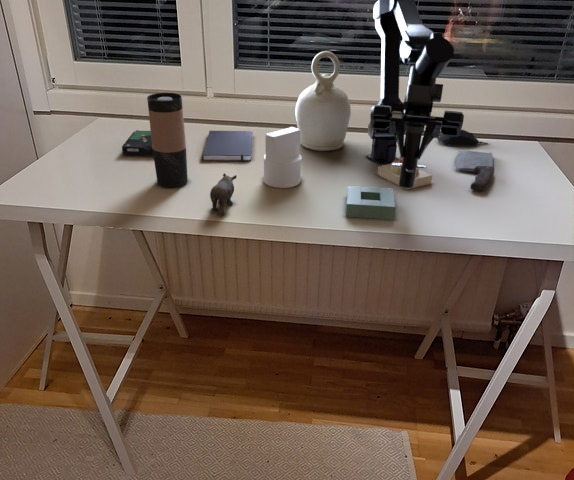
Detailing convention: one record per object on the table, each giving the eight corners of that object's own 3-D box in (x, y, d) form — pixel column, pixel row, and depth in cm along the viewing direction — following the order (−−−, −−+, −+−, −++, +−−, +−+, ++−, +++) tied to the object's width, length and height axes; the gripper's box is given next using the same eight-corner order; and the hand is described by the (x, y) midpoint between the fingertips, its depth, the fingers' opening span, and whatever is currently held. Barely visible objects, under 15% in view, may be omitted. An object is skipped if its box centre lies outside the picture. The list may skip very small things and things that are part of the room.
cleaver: (493, 194, 130) (495, 186, 129) (451, 189, 132) (452, 180, 131) (492, 156, 154) (493, 149, 153) (456, 152, 156) (457, 144, 155)
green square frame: (345, 216, 118) (347, 203, 117) (346, 197, 127) (347, 185, 125) (393, 219, 118) (395, 207, 116) (391, 200, 126) (392, 188, 125)
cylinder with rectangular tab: (282, 171, 140) (283, 123, 134) (308, 181, 135) (310, 132, 129) (256, 179, 135) (255, 131, 128) (281, 190, 130) (282, 140, 123)
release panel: (377, 174, 140) (379, 159, 138) (401, 169, 143) (403, 154, 141) (405, 189, 132) (408, 173, 130) (430, 183, 135) (433, 168, 133)
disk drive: (161, 157, 147) (171, 139, 159) (160, 147, 146) (170, 129, 158) (122, 157, 147) (135, 138, 159) (121, 146, 145) (133, 129, 158)
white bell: (313, 132, 168) (317, 44, 155) (357, 143, 161) (366, 51, 147) (283, 145, 158) (285, 51, 144) (329, 157, 150) (336, 59, 137)
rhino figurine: (241, 192, 128) (240, 167, 125) (226, 217, 117) (225, 190, 114) (224, 190, 129) (223, 165, 126) (207, 215, 118) (206, 188, 114)
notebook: (209, 135, 163) (203, 160, 145) (209, 130, 163) (202, 154, 145) (252, 136, 164) (251, 161, 146) (252, 131, 163) (251, 155, 145)
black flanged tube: (390, 190, 116) (398, 128, 109) (389, 178, 122) (396, 118, 115) (424, 192, 115) (434, 130, 108) (421, 180, 121) (430, 120, 114)
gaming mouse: (490, 147, 160) (493, 134, 158) (439, 145, 160) (441, 132, 158) (484, 140, 165) (487, 127, 163) (435, 139, 166) (437, 125, 163)
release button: (395, 164, 136) (396, 157, 135) (406, 161, 138) (407, 155, 137) (404, 168, 134) (405, 161, 133) (416, 166, 135) (417, 159, 134)
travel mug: (194, 179, 134) (188, 94, 124) (179, 190, 128) (171, 102, 117) (166, 174, 136) (158, 91, 126) (150, 185, 130) (139, 98, 119)
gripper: (376, 63, 111) (364, 134, 108) (472, 70, 107) (462, 143, 104) (376, 94, 122) (365, 159, 119) (463, 102, 118) (454, 169, 115)
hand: (410, 157), depth 114 cm, fingers closed on black flanged tube, 3 cm apart
